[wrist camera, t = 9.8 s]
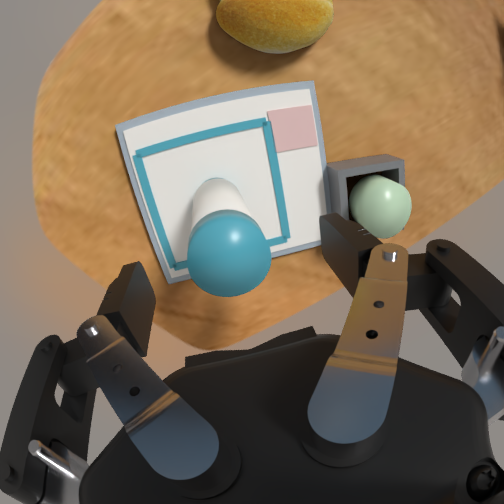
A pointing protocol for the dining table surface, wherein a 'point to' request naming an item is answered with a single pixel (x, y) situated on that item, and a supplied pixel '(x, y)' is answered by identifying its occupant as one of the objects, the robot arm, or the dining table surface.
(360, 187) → the button
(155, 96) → the dining table surface
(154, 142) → the white square board
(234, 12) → the bread roll
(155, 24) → the dining table surface
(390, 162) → the button housing
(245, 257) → the marker
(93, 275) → the dining table surface
